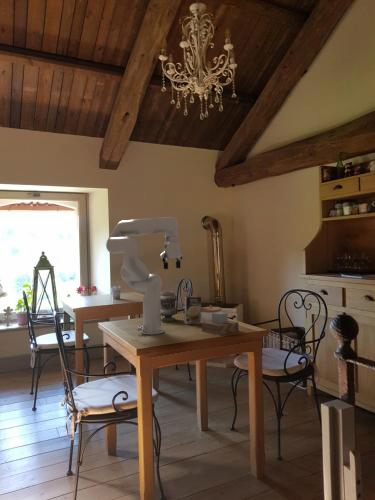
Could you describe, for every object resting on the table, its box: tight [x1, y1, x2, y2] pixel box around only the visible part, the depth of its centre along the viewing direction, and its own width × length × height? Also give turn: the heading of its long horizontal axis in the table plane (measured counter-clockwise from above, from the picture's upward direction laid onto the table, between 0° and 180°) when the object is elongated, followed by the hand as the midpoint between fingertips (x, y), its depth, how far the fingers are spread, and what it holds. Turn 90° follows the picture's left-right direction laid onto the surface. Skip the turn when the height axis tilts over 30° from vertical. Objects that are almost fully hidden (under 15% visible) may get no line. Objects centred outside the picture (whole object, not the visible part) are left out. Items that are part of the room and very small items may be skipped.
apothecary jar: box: [160, 290, 178, 322], centre depth 242 cm, size 12×12×18 cm
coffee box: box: [183, 295, 202, 325], centre depth 230 cm, size 9×6×16 cm
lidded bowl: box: [200, 304, 222, 323], centre depth 228 cm, size 13×13×11 cm
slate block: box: [212, 311, 229, 324], centre depth 209 cm, size 6×6×5 cm
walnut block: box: [201, 320, 239, 336], centre depth 209 cm, size 14×14×5 cm
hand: (172, 268), depth 226 cm, fingers open, 9 cm apart
